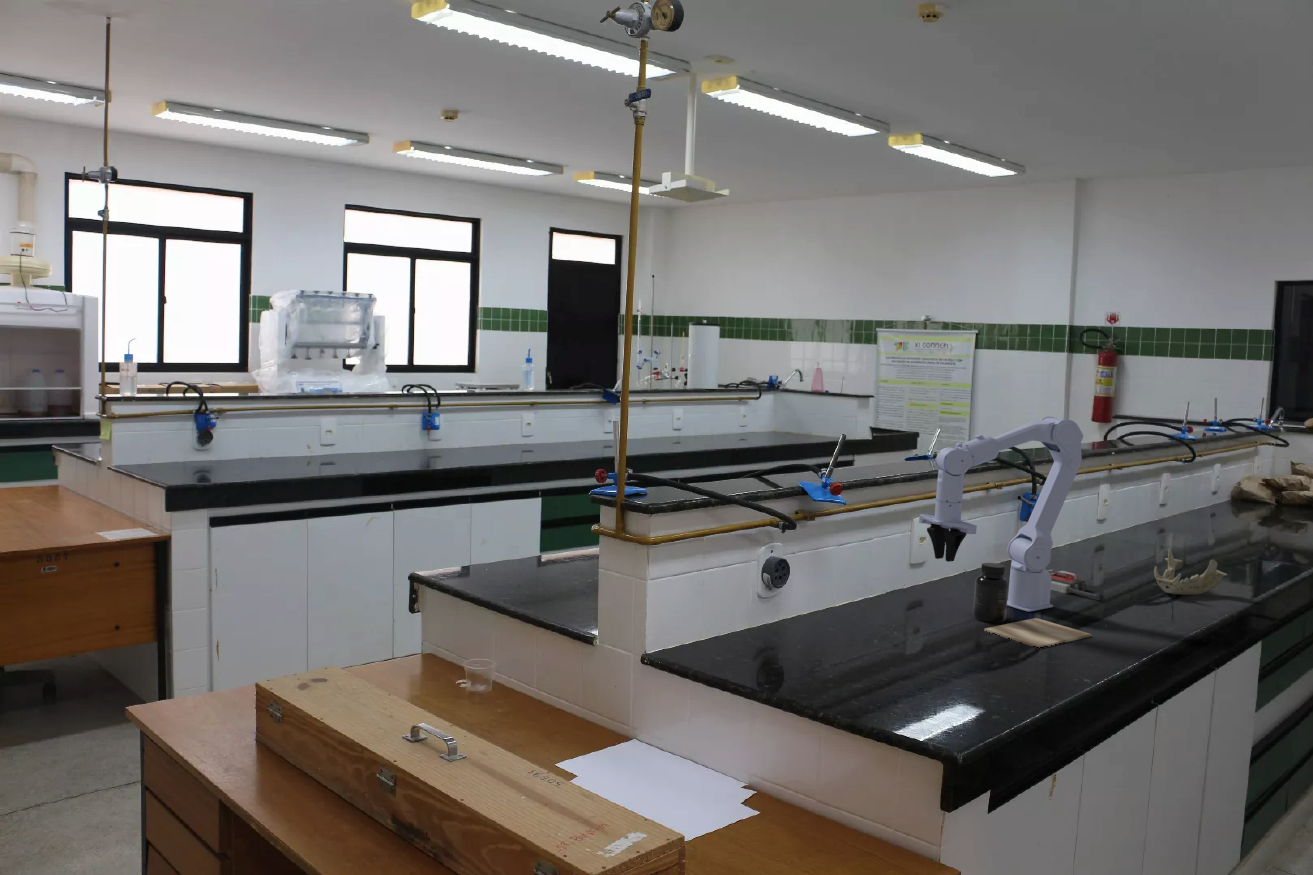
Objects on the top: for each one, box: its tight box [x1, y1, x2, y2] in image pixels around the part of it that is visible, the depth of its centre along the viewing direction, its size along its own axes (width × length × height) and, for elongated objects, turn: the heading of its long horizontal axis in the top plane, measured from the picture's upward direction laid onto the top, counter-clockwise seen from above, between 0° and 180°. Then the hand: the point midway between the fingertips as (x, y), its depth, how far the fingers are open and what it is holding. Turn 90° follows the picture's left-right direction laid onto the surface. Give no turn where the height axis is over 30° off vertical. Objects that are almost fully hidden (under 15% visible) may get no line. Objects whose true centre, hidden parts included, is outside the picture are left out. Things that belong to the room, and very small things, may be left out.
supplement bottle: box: [972, 562, 1009, 624], centre depth 215 cm, size 7×7×12 cm
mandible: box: [1153, 548, 1228, 596], centre depth 248 cm, size 19×16×10 cm
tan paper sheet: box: [983, 617, 1092, 649], centre depth 206 cm, size 18×13×1 cm
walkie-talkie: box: [1046, 569, 1100, 599], centre depth 247 cm, size 9×4×20 cm
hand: (944, 559), depth 226 cm, fingers open, 2 cm apart
